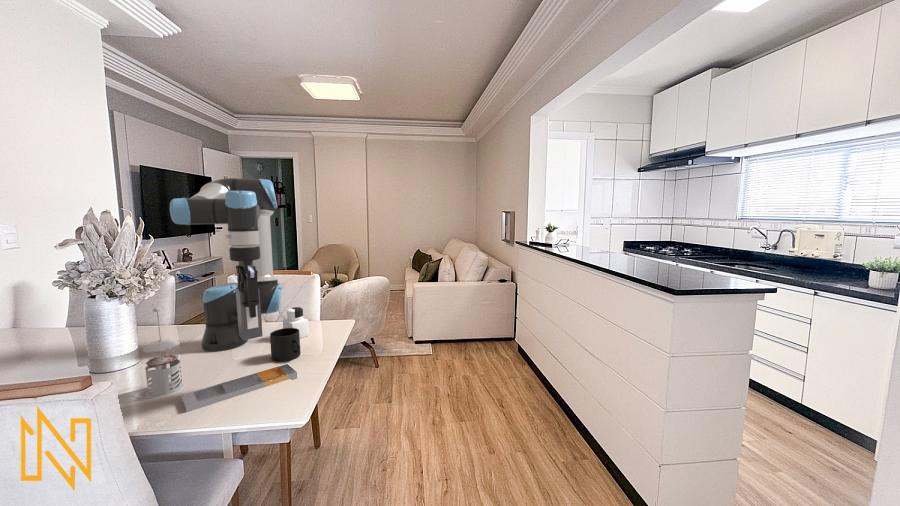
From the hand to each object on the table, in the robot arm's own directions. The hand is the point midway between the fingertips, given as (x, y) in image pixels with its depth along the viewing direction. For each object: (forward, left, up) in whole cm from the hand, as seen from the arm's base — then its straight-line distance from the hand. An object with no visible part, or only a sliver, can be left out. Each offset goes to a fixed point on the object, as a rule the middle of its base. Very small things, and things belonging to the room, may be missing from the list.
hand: (250, 325), depth 103 cm
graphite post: (0, 0, -3) cm, 3 cm away
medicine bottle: (-33, +25, -19) cm, 45 cm away
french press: (-15, -19, -19) cm, 31 cm away
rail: (0, -3, -19) cm, 19 cm away
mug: (-14, +15, -19) cm, 28 cm away
